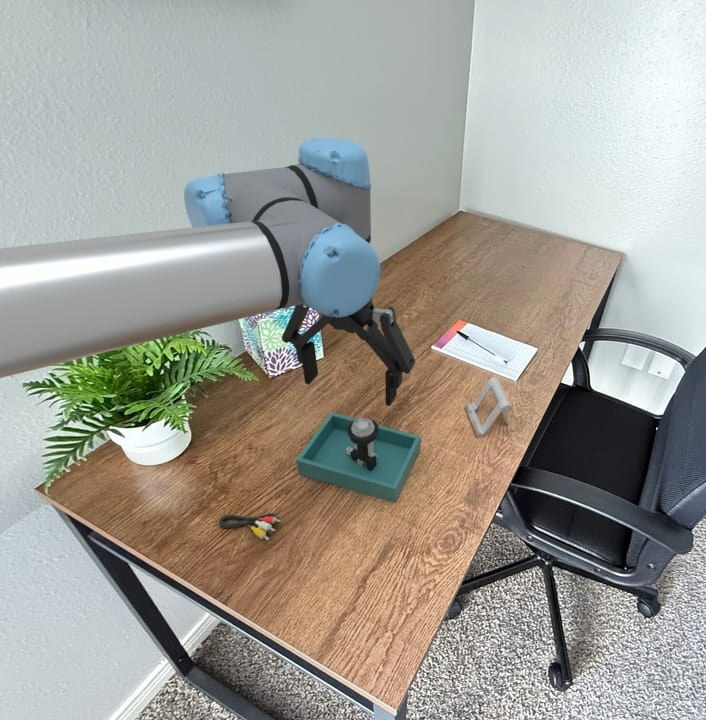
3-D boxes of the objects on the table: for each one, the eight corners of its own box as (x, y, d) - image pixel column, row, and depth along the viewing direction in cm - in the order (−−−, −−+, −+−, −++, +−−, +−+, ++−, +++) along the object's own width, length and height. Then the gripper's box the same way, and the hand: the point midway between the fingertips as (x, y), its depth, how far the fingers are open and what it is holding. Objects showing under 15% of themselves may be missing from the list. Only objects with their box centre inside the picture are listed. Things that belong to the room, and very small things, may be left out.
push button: (338, 462, 86) (334, 425, 80) (356, 443, 90) (353, 407, 84) (368, 477, 84) (365, 441, 78) (385, 458, 88) (384, 421, 82)
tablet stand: (464, 408, 101) (468, 380, 96) (497, 403, 104) (503, 375, 99) (475, 437, 95) (480, 409, 90) (511, 432, 98) (517, 403, 92)
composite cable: (215, 527, 74) (212, 519, 73) (235, 503, 78) (232, 494, 76) (271, 546, 73) (268, 538, 71) (288, 520, 76) (286, 512, 75)
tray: (298, 474, 84) (295, 460, 81) (332, 426, 93) (331, 411, 91) (395, 503, 81) (395, 489, 79) (420, 450, 91) (420, 436, 88)
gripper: (442, 277, 62) (433, 393, 75) (272, 238, 65) (292, 356, 78) (423, 304, 56) (417, 425, 69) (238, 260, 59) (265, 384, 72)
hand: (351, 389), depth 74 cm, fingers open, 13 cm apart
